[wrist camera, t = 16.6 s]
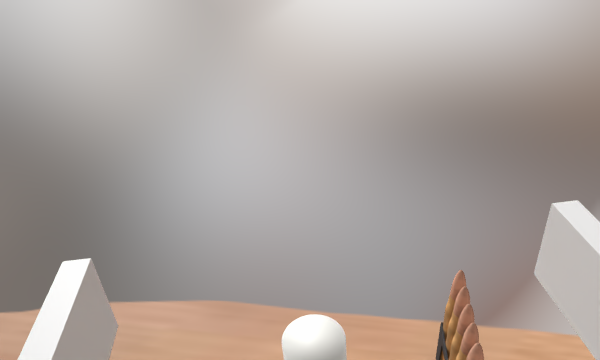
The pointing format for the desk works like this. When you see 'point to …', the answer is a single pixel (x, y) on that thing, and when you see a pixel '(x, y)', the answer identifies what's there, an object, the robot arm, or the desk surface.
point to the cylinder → (314, 339)
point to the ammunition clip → (459, 326)
